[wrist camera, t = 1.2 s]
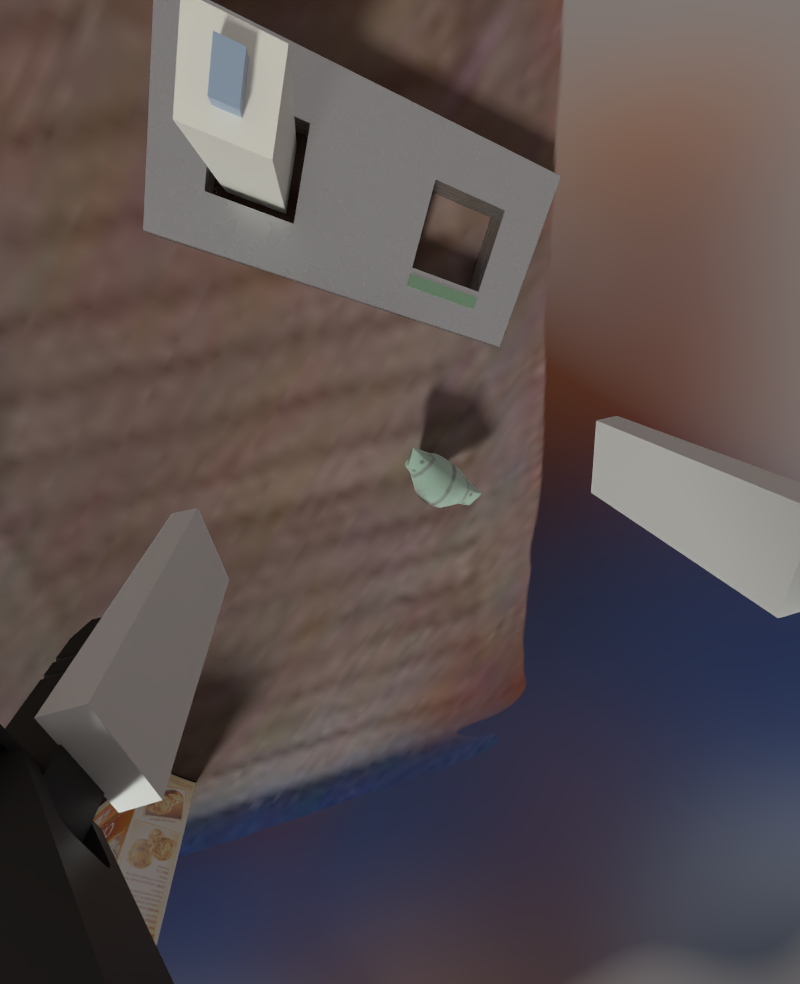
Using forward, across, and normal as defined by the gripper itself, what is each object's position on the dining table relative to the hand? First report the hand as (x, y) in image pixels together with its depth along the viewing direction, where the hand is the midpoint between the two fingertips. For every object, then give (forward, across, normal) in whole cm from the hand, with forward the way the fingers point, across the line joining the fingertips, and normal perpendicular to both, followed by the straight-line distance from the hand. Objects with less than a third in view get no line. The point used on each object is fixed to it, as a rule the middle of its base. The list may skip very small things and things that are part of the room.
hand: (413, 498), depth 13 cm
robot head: (+24, +5, -9) cm, 26 cm away
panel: (+24, +3, +12) cm, 26 cm away
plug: (+24, -3, +15) cm, 28 cm away
